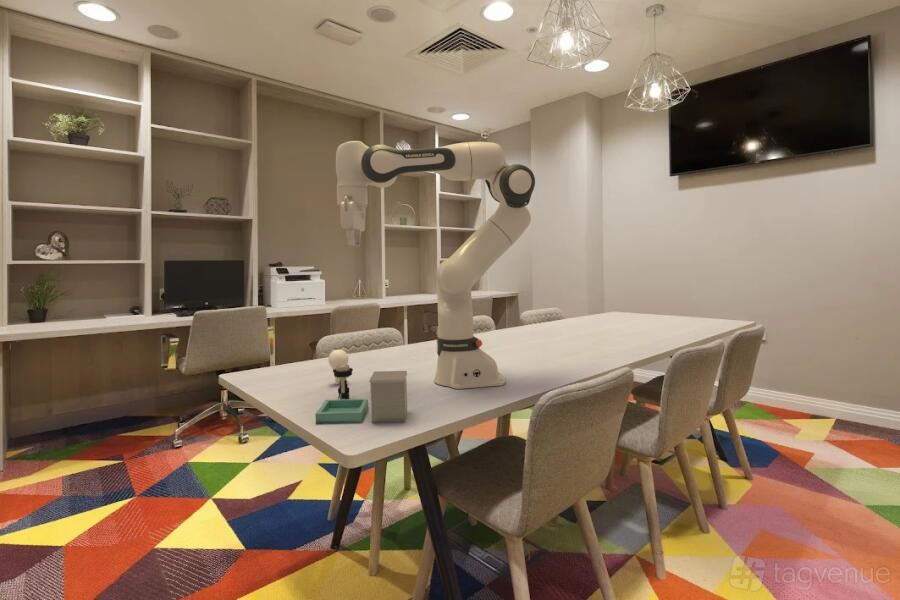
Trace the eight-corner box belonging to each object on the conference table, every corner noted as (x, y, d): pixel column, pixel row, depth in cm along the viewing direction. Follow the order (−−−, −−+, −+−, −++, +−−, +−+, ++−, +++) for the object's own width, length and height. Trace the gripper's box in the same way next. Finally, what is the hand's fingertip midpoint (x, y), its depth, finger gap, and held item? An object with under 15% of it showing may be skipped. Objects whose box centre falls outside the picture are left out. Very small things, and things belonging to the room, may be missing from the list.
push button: (352, 405, 126) (351, 369, 125) (332, 406, 126) (330, 370, 125) (354, 398, 133) (353, 363, 132) (335, 399, 132) (334, 364, 131)
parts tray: (368, 407, 124) (367, 398, 124) (361, 422, 113) (361, 412, 113) (326, 409, 124) (326, 399, 123) (315, 423, 113) (315, 413, 112)
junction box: (408, 410, 121) (407, 370, 120) (406, 422, 113) (404, 379, 112) (374, 411, 121) (373, 371, 120) (369, 423, 112) (368, 380, 111)
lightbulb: (351, 381, 151) (350, 347, 150) (345, 386, 145) (344, 351, 144) (333, 381, 151) (332, 347, 150) (326, 386, 145) (325, 351, 144)
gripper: (356, 193, 127) (358, 244, 129) (368, 202, 148) (370, 246, 149) (333, 193, 127) (335, 245, 129) (348, 202, 148) (350, 246, 149)
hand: (354, 245), depth 139 cm, fingers open, 8 cm apart
